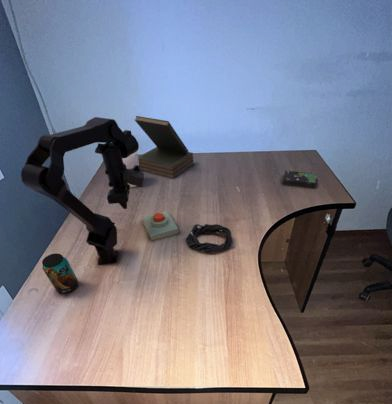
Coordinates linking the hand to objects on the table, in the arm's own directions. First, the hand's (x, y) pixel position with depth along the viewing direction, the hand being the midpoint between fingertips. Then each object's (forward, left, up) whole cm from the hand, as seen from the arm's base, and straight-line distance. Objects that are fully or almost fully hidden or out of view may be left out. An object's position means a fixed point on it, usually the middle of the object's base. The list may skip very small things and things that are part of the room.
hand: (125, 208), depth 94 cm
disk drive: (+31, -79, -12) cm, 86 cm away
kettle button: (+4, -11, -8) cm, 14 cm away
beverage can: (-25, +19, -12) cm, 34 cm away
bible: (+61, -16, -12) cm, 64 cm away
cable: (-9, -29, -12) cm, 33 cm away
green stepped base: (+4, -11, -12) cm, 17 cm away
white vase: (+44, +2, -12) cm, 46 cm away
